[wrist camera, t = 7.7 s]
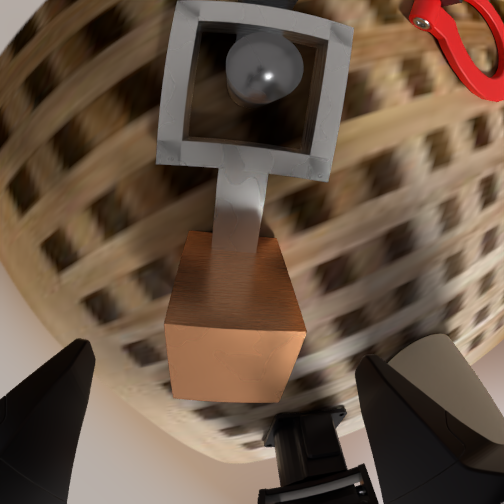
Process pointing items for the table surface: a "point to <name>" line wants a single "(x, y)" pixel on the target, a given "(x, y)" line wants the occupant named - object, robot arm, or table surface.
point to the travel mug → (450, 383)
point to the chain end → (242, 212)
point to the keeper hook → (263, 64)
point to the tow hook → (445, 30)
